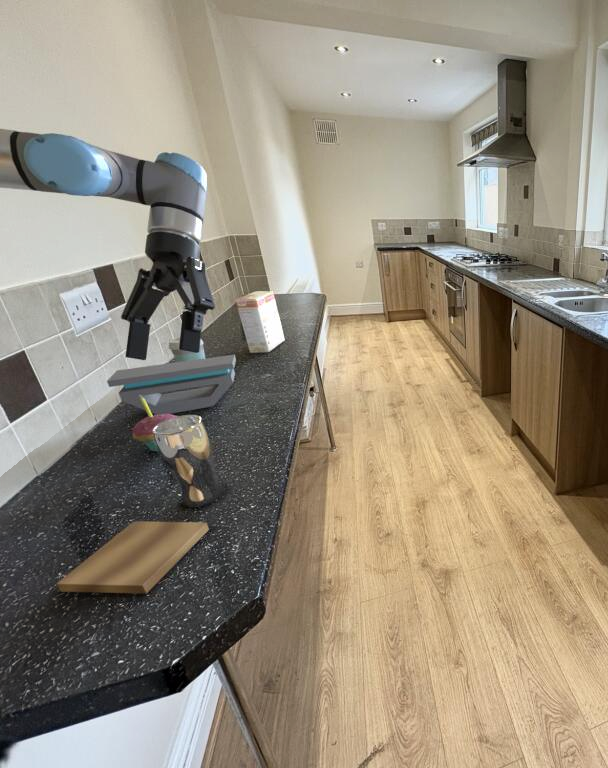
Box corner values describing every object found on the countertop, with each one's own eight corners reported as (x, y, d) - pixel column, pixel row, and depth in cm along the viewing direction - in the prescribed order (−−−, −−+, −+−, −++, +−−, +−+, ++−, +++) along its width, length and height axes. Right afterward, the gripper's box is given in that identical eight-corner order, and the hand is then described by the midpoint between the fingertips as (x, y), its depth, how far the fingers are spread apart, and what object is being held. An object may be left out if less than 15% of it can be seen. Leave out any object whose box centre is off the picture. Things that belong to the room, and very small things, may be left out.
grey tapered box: (244, 390, 117) (234, 354, 113) (243, 400, 111) (232, 363, 107) (133, 409, 106) (116, 370, 102) (124, 421, 100) (106, 381, 96)
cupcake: (130, 451, 88) (108, 401, 83) (173, 432, 95) (155, 385, 90) (156, 459, 85) (135, 407, 80) (198, 439, 92) (181, 391, 87)
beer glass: (222, 480, 78) (198, 410, 72) (231, 496, 74) (206, 423, 68) (177, 496, 74) (148, 423, 68) (184, 515, 69) (153, 439, 63)
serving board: (60, 591, 56) (55, 583, 55) (137, 528, 67) (133, 521, 66) (146, 593, 55) (142, 585, 55) (209, 529, 66) (206, 522, 66)
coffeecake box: (266, 340, 161) (254, 291, 153) (285, 340, 162) (274, 290, 154) (248, 353, 148) (234, 299, 140) (269, 352, 148) (256, 298, 141)
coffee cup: (217, 369, 132) (205, 334, 127) (208, 379, 125) (196, 341, 120) (185, 373, 130) (173, 336, 125) (175, 383, 122) (161, 344, 118)
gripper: (245, 237, 73) (235, 352, 70) (152, 260, 81) (139, 365, 78) (202, 215, 66) (189, 342, 63) (105, 243, 74) (88, 357, 71)
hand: (161, 355), depth 70 cm, fingers open, 13 cm apart
